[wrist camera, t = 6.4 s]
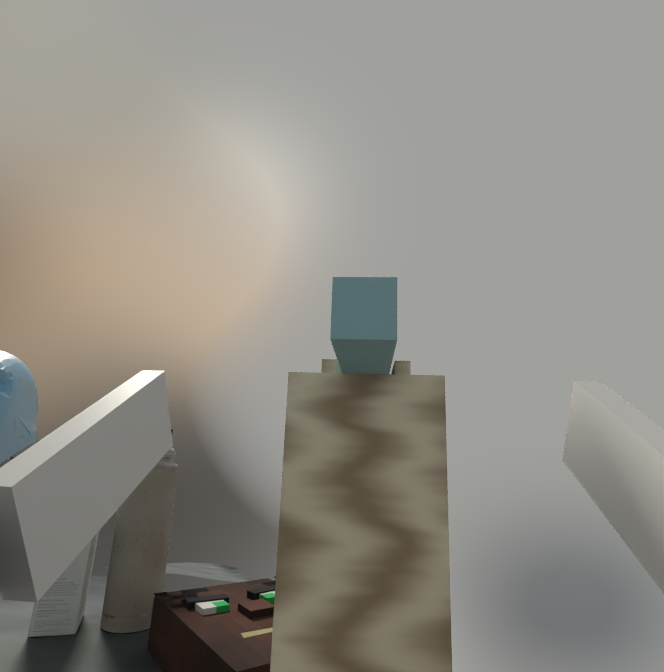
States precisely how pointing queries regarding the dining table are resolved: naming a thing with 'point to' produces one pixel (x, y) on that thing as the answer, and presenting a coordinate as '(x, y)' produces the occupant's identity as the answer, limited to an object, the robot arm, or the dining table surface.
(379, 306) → the bar
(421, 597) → the pedestal
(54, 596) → the skincare box
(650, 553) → the robot arm
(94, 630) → the dining table surface
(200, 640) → the decorative book
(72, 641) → the dining table surface
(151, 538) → the thermos bottle
